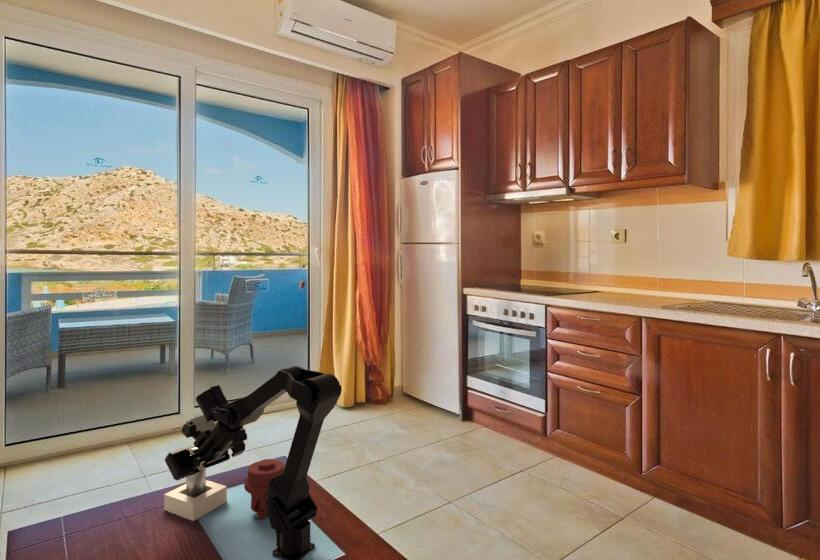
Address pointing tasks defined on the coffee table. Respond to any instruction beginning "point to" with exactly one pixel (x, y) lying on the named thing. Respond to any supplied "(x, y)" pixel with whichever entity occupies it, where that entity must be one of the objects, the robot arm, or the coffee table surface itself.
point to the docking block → (195, 501)
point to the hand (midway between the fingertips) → (192, 471)
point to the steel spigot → (196, 478)
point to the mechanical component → (261, 483)
